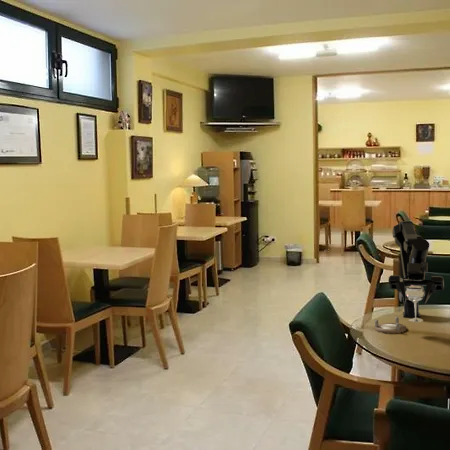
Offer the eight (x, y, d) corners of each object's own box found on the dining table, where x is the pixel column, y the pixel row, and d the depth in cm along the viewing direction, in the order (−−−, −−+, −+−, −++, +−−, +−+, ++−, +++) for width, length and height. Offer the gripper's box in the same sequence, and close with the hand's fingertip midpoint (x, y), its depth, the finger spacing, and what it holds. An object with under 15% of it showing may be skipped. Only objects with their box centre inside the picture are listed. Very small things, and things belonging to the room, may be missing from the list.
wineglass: (413, 323, 198) (412, 290, 196) (402, 319, 204) (400, 286, 203) (429, 321, 200) (428, 287, 198) (418, 316, 206) (417, 284, 205)
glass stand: (375, 325, 218) (375, 316, 218) (405, 325, 215) (405, 316, 215) (375, 333, 208) (374, 324, 207) (406, 333, 205) (406, 324, 204)
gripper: (388, 253, 207) (384, 289, 198) (442, 254, 199) (441, 291, 190) (392, 270, 215) (388, 306, 206) (444, 271, 207) (443, 308, 198)
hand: (414, 302), depth 200 cm, fingers closed on wineglass, 6 cm apart
